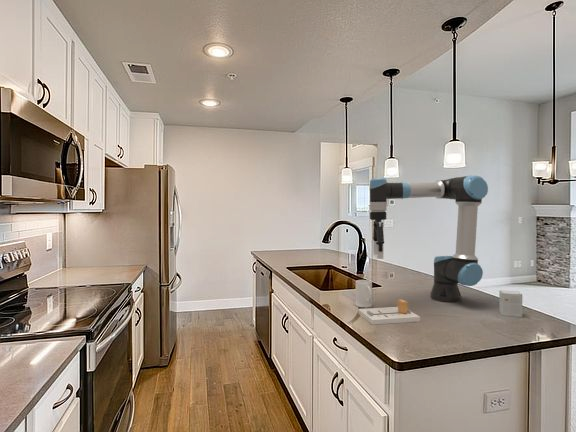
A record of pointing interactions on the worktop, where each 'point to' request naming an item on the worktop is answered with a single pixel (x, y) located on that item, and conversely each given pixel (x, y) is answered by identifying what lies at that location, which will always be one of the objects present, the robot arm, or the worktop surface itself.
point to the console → (387, 315)
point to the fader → (402, 306)
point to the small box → (510, 303)
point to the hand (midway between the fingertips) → (378, 256)
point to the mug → (363, 293)
